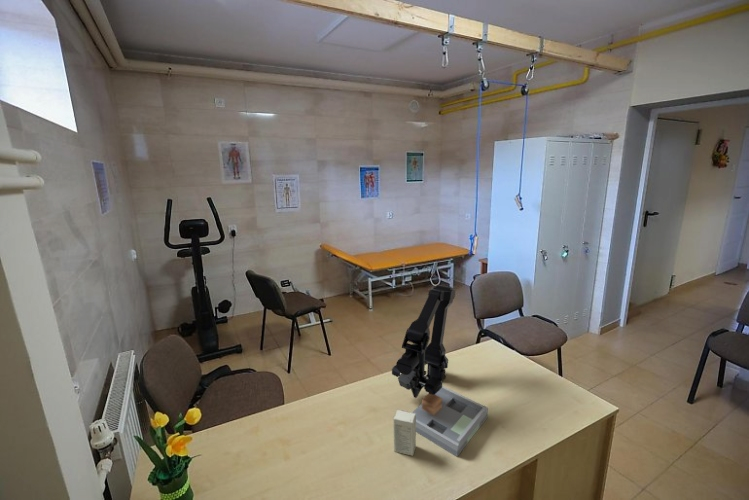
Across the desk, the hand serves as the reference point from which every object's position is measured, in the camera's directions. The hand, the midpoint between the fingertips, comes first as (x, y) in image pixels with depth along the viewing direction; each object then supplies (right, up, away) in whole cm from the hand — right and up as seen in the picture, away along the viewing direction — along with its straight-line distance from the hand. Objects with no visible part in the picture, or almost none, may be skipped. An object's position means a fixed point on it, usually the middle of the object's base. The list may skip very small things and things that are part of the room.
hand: (415, 397), depth 127 cm
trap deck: (+10, -5, -8) cm, 13 cm away
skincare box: (-6, -8, -19) cm, 21 cm away
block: (+5, -2, -4) cm, 7 cm away
